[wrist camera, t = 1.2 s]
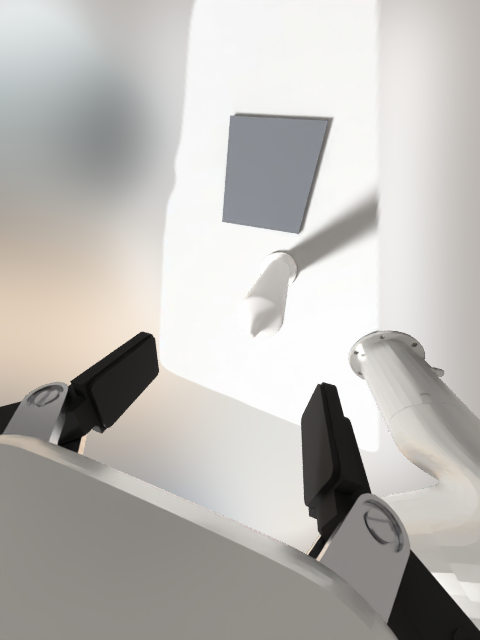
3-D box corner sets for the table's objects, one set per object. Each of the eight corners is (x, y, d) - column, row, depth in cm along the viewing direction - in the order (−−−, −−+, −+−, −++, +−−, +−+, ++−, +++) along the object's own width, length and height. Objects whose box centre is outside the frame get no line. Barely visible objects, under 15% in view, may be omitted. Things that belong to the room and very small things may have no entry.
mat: (327, 123, 25) (328, 120, 25) (298, 233, 32) (298, 233, 31) (231, 118, 28) (230, 115, 27) (223, 221, 34) (222, 221, 34)
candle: (296, 249, 33) (299, 291, 12) (296, 287, 36) (298, 375, 15) (258, 253, 35) (201, 295, 14) (261, 289, 38) (218, 368, 17)
